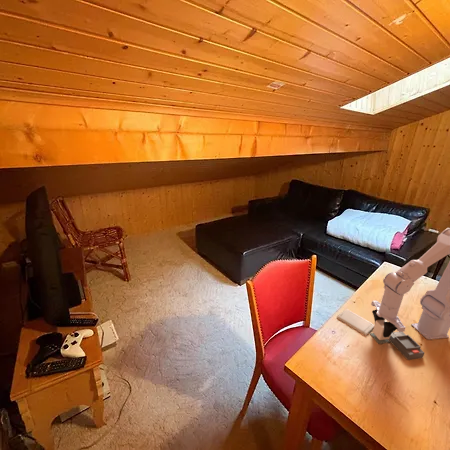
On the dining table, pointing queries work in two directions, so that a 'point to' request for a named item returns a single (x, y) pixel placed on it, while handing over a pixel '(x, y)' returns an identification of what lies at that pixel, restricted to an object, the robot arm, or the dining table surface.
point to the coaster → (379, 340)
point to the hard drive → (356, 321)
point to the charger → (379, 329)
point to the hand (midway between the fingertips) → (381, 331)
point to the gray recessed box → (406, 345)
